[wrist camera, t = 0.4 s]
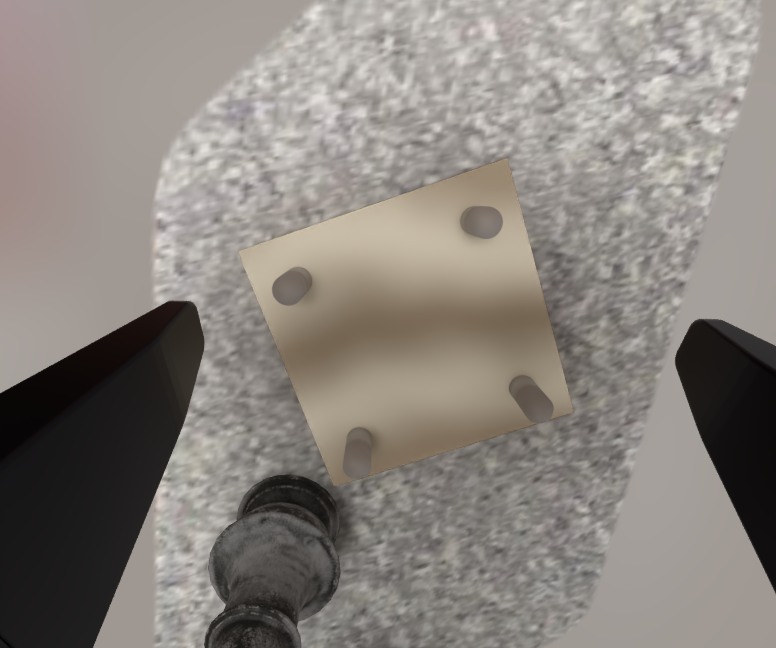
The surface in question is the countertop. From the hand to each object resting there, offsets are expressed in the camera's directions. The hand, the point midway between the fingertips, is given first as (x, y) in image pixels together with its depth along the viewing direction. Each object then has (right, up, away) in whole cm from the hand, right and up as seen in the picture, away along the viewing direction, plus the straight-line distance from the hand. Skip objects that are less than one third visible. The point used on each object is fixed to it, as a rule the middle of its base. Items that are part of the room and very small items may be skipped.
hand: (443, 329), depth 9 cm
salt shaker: (-6, -10, +16) cm, 20 cm away
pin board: (0, 0, +14) cm, 14 cm away
